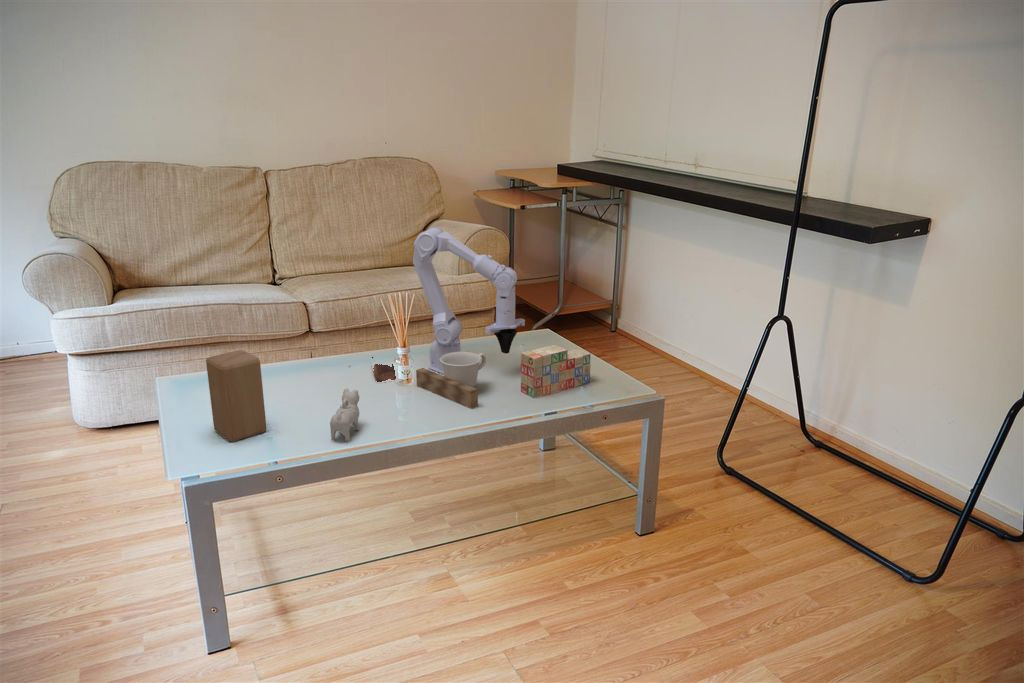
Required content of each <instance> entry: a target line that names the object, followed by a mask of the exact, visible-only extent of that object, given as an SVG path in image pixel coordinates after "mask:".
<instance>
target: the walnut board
mask: <svg viewBox="0 0 1024 683" xmlns="http://www.w3.org/2000/svg"><path fill="white" fill-rule="evenodd" d="M415 371H416V373H415V374H416V376H415V377H416V387H418V388H421V389H423V390H426V391H429V392H431V393H432V394H435V395H437V396H439V397H443V398H445V399H447V400H449V401H452V402H454V403H457V404H459V405H461V406H463V407H467V408H468V409H471V410H472V409H474V408H477V407H479V391H478V390H479V388H475V387H474V386H473V387H471V386H468V385H465V384H463V383H460V382H458V381H455V380H451V379H448V378H446V377H445V376H444V375H443V374H441V373H437V372H436V371H435V372H434V371H433V370H431V369H430V370H429V369H427V368H424V367H421V368H417V369H416V370H415Z"/></svg>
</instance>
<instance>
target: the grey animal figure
mask: <svg viewBox="0 0 1024 683" xmlns="http://www.w3.org/2000/svg"><path fill="white" fill-rule="evenodd" d="M359 401H360V395H359V390H357V389H353V390H352V391H350V390H349V388H345V389H343V392H342V395H341V402H342V404H341V405H339V408H338V409H337V410H336V412H335V414H334V415H332V417H331V418H330V422H329V427H330V436H331V439H330V440H331V441H332V440H335V441H336V434H337V432H339V433H341V434H343V436H344V437H345V438H344V439H345V440H344V442H346V441H347V443H349V442H351V438H350V426H351V425H352V426H353V428H354V431H355V430H359V431H361V428H360V425H359V417H360V410H359V407H358V403H359Z"/></svg>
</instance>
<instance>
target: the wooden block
mask: <svg viewBox="0 0 1024 683" xmlns="http://www.w3.org/2000/svg"><path fill="white" fill-rule="evenodd" d="M205 364H206V371H207V372H206V373H207V374H206V375H207V381H208V389H209V395H210V404H211V406H210V407H211V415H212V420H213V421H212V423H213V429H214V432H216V433H217V434H218V435H220V436H222V437H223V438H224V439H226V440H227V441H229V442H236V441H239V440H243V439H246V438H250V437H252V436H256V435H259V434H261V433H265V432H266V431H267V420H266V409H265V408H266V407H265V398H264V388H263V387H264V386H263V377H262V368H261V360H260V358H259V357H257V356H256V355H253V354H252V353H249V352H247V351H245V350H243V349H238V350H235V351H231V352H226V353H221V354H217V355H212V356H209V357H206V359H205Z"/></svg>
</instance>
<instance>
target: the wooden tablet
mask: <svg viewBox="0 0 1024 683" xmlns="http://www.w3.org/2000/svg"><path fill="white" fill-rule="evenodd" d="M373 369H374V371H373V370H372V373H373V376H374V380H375V382H376V381H377V382H382V381H386V380H388V379H391V380H395V379H396V376H395V370H394V366H393V364H392V367H390V366H388V365H382V364H381V365H380V364H379V365H378V364H375V365H374V368H373ZM377 382H376V383H377Z"/></svg>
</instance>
